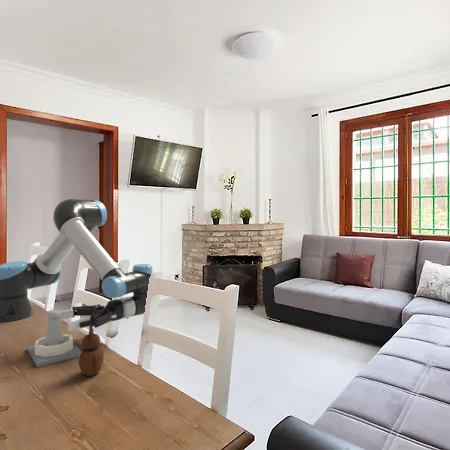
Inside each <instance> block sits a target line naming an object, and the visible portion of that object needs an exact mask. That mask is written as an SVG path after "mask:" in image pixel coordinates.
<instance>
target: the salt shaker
mask: <svg viewBox="0 0 450 450" xmlns="http://www.w3.org/2000/svg"><path fill="white" fill-rule="evenodd" d="M61 311H62V310H60V309H55V308H54V309H49V310H48V311H47V313H46V318H47V319H48V324H47V329H46V335H45V336H46V339H45V346H53V345H59V344H62V343H64V336H63V334H64V332H63V327H62V322H61V320H60V317H61V314H62V313H61Z"/></svg>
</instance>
